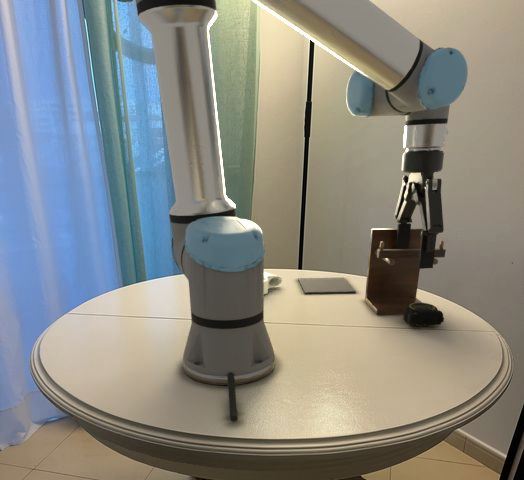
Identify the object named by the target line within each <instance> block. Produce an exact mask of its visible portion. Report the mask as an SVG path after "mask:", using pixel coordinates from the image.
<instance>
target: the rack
mask: <svg viewBox="0 0 524 480" xmlns="http://www.w3.org/2000/svg"><path fill="white" fill-rule="evenodd" d="M422 231H423V227H417V228H415V227H413V228H412V227H411V231H410V241H409V249H420V242H421V235H420V234H421V232H422ZM369 238H370V239H369V250H368V259H367V261H368V262H367V273H366V283H365V284H366V285H365V295H364V302H365V303H366V304H367V305H368V307H369V308H370V309H371V310H372V311H373V312H374V314H375V315H404V309H405V306H406V305H408V304H410V303H423V302H422V301H421V300H420V299H418V297H417V294H418V293H417V292H418V286H419V279H420V273H421V272H420V270H421V269H419V268H418V262H419V258H378V257H377V249H380V243H381V242H384V249H396V239H397V228H371V229H370V237H369ZM438 263H439V259H437V258H434V262H433V266H435V265H437V264H438Z"/></svg>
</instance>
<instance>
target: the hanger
mask: <svg viewBox="0 0 524 480" xmlns="http://www.w3.org/2000/svg"><path fill="white" fill-rule="evenodd" d="M444 246H445V241H444V240H441V241H439V247H438V248H436V247H435V253H434V258H435V259H437V258H445V257H446V251H447V249H445V248H444ZM419 252H420V249H384V242H381V243H380V249H377V257H378V258H419Z"/></svg>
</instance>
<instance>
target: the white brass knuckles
mask: <svg viewBox="0 0 524 480" xmlns="http://www.w3.org/2000/svg"><path fill="white" fill-rule="evenodd" d="M282 282H283V278H282V277H281V276H279V275H277V274H272V273H269V272H266V271H264V295H267V294H268V293H269V289H274V288H276V287H277V286H280V285H281V284H282Z"/></svg>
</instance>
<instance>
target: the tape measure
mask: <svg viewBox="0 0 524 480" xmlns="http://www.w3.org/2000/svg"><path fill="white" fill-rule="evenodd" d="M403 321H404V322H405V323H407V324H408V325H411V326H416V327H417V326H418V327H420V328H422V327H425V326H426V327H427V326H438V325H442V323H444V321H445V317H444V313H443V311H442V310H440V309H438V307H437V306H435V305H433V304H431V303H426V302H422V303H410V304H408V305H406V306H405V309H404V314H403Z"/></svg>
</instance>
